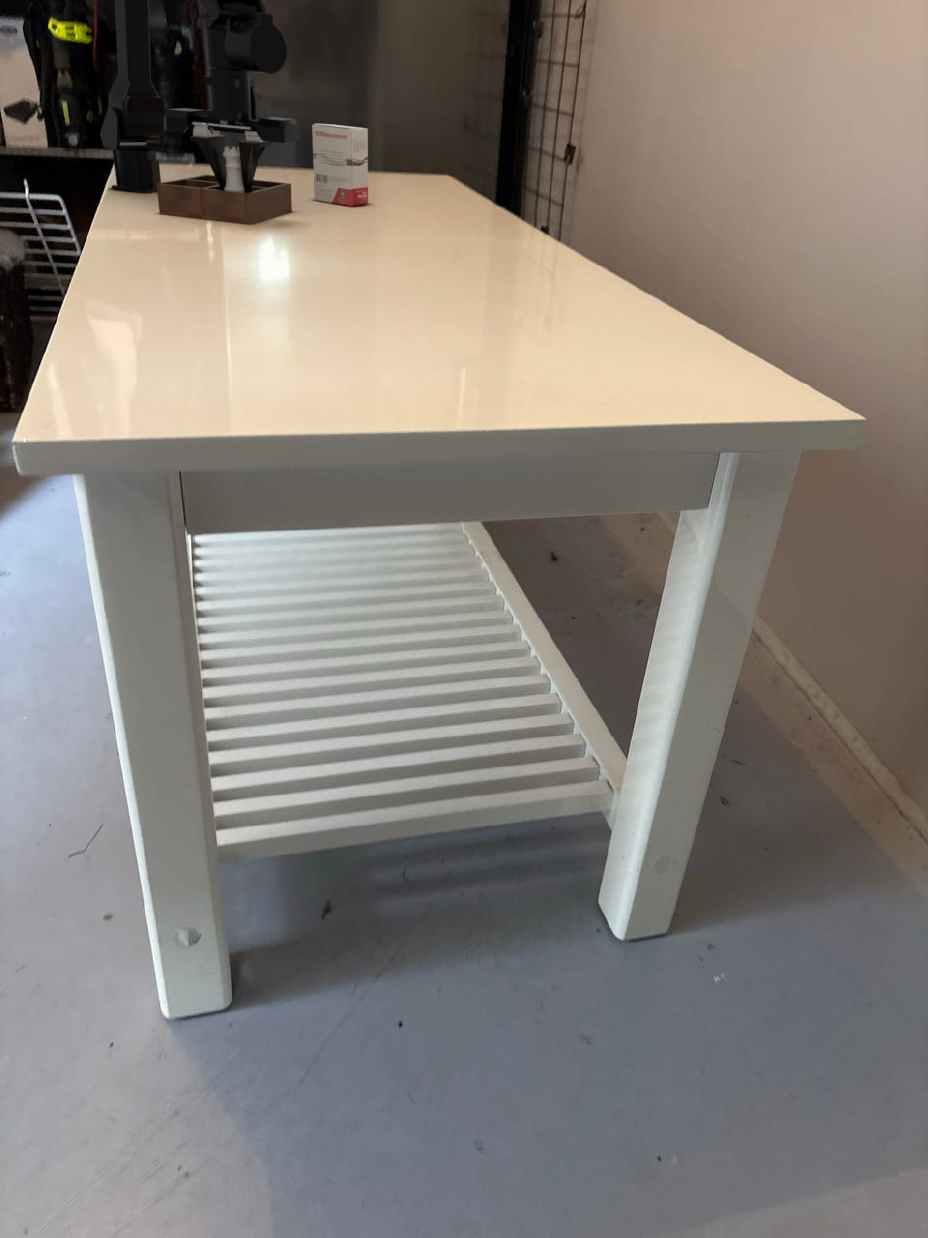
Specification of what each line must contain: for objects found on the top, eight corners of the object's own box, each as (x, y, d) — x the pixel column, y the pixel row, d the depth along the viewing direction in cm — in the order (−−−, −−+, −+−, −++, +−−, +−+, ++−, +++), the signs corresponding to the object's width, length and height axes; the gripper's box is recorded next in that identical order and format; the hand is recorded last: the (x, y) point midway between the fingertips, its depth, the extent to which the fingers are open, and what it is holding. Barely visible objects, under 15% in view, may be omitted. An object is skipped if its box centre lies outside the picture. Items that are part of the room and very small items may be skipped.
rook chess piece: (248, 210, 134) (245, 149, 129) (218, 208, 133) (214, 147, 129) (255, 205, 137) (252, 146, 133) (226, 203, 137) (221, 144, 133)
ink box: (369, 204, 156) (370, 127, 150) (352, 206, 152) (351, 127, 146) (330, 197, 160) (329, 122, 153) (312, 200, 156) (310, 122, 150)
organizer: (159, 213, 135) (156, 183, 133) (208, 201, 147) (206, 174, 145) (249, 224, 132) (248, 193, 130) (292, 211, 144) (291, 183, 142)
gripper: (313, 73, 131) (315, 191, 139) (196, 63, 134) (206, 179, 143) (280, 74, 121) (285, 200, 130) (156, 63, 125) (168, 186, 133)
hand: (236, 191), depth 134 cm, fingers closed on rook chess piece, 3 cm apart
